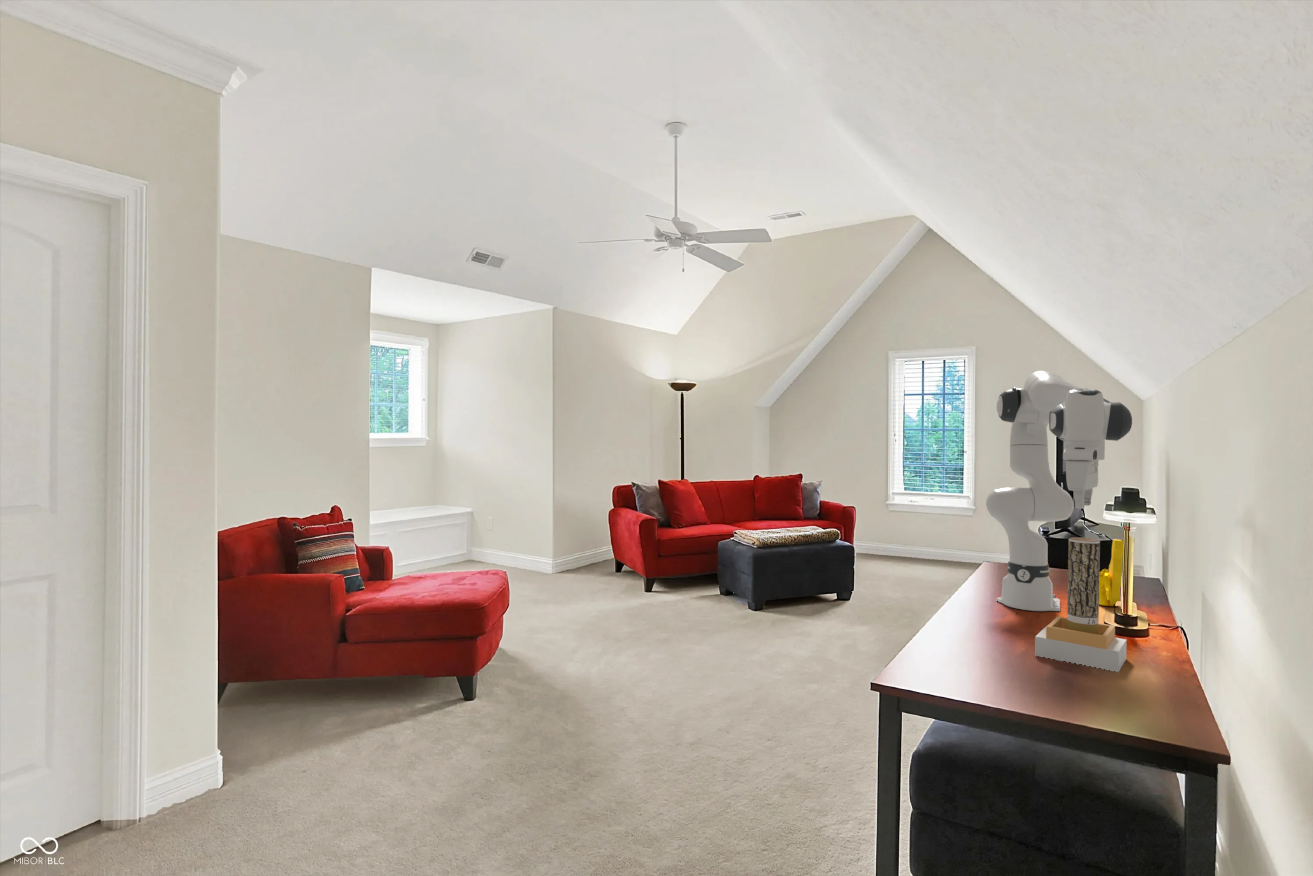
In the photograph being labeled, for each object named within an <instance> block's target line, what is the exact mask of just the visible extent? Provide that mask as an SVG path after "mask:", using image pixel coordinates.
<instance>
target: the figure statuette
mask: <svg viewBox="0 0 1313 876" xmlns="http://www.w3.org/2000/svg"><path fill="white" fill-rule="evenodd" d="M1123 544H1124V541H1123V540H1122V539H1115V538H1114V539H1113V540H1112V543H1111V558H1110V562H1109V565H1108V569H1106V568H1104V569H1102V570H1101V571H1099V606H1105V607H1113V605H1114V604H1115V603H1116V602H1117V601H1121V598H1120V587H1121V576H1122V577H1123V558H1124V557H1123V556H1124V549H1123Z"/></svg>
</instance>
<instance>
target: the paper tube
mask: <svg viewBox="0 0 1313 876" xmlns="http://www.w3.org/2000/svg"><path fill="white" fill-rule="evenodd" d="M1100 553H1101V541H1100V539H1097V538H1091V537H1078V536H1076V537H1075V536H1074V537H1068V556H1067V557H1068V558H1067V564H1068V565H1067V568H1068V569H1067V604H1066V605H1067V607H1066V608H1067V611H1066V613H1067V615H1066V618H1067V629H1069V630H1074V631H1080V632H1086V633H1092V634H1098V623H1100V622H1099V614H1100V612H1099V611H1100V604H1099V572H1100V564H1101V563H1100V560H1101V559H1100V556H1101V554H1100Z"/></svg>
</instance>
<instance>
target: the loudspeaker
mask: <svg viewBox="0 0 1313 876" xmlns="http://www.w3.org/2000/svg"><path fill="white" fill-rule="evenodd" d="M1034 637H1035V638H1034V657H1038V656H1039V657H1038V658H1043V657H1045V658H1044V659H1048V658H1050V659H1049V660H1053V659H1055V660H1054V661H1058V662H1063V661H1066V662H1065V663H1069V662H1071V663H1070V664H1074V663H1076V665H1079V664H1082V665H1081V666H1084V665H1086V666H1085V667H1089V666H1091V667H1090V668H1094V667H1096V668H1095V669H1099V668H1101V669H1100V670H1104V669H1105V670H1106V671H1109V670H1110V672H1114V671H1115V672H1114V673H1119V672H1120V670H1121V669H1122V667H1123V665H1124V664H1125V662H1126V661H1127V640H1128V639H1126V638H1125V639H1124V638H1119V637H1116V625H1112V624H1107V623H1106V624H1105V623H1101V622H1099V623H1098V634H1092V633H1086V632H1080V631H1074V630H1069V629H1067V617H1064V616H1063V617H1062V616H1056V617H1055V618H1054V619H1053V620H1052V621H1050V623H1049V624H1047V625H1046V626H1045V627H1043V628H1042V630H1040V632H1038V634H1036V635H1035V636H1034Z"/></svg>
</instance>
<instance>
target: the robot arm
mask: <svg viewBox="0 0 1313 876" xmlns="http://www.w3.org/2000/svg"><path fill="white" fill-rule="evenodd" d="M1023 386H1024V387H1022V388H1018V387H1017V386H1014V387H1012V388H1011V389H1007V390H1005V391H1003V392H1001V394H999V396H998V399H997V401H996V412H997V414H998V417H999V419H1001V421H1003V422H1006V423H1011V429H1010V436H1009V467H1010V469H1011V470H1012V472H1013V473H1014V474H1016V475H1018V476H1020V477H1022V478H1024V479H1026V480H1027V482H1028V484H1029V485H1028V486H1029V487H1011V486H1009V487H1008V486H1007V487H1001V488H996V489H995V488H994V489H993V490H991V491H990V492H989V494H988V495H987V498H986V503H985V504H986V505H985V506H986V508H987V509H986V510H987V511H988V513H989V514H990V516H991V517H992V518H993V519H995V520H996V521H997V522H999V523H1000V524H1001V526H1002V527H1003V529H1004V530H1005V532H1006V535H1007V539H1008V545H1009V547H1008V549H1009V561H1008V562H1007V574H1006V575H1005V576H1004V577H1003V578H1002V584H1001V585H1002V588H1001V596H999V597H996V599H995V601H996V602H997V601H998V603H1001V604H1003V605H1005V606H1007V607H1009V608H1013V609H1018V610H1019V609H1020V610H1023V611H1032V612H1048V611H1049V612H1061V599H1060V598H1057V597H1056V594H1053V592H1054V591H1053V589H1054V587H1053V586H1054V585H1053V582H1052V580H1051V579H1050V577H1049V576H1050V565H1049V563H1048V561H1049V560H1048V556H1049V555H1048V554H1049V553H1048V548H1049V547H1048V546H1049V544H1048V542H1047V540H1046V538H1045V537H1044V536H1042V535H1041V534H1039V533H1038V532H1035V531H1034V530H1031V529H1030V526H1029V522H1040V523H1041V522H1043V523H1045V522H1046V523H1047V522H1048V523H1049V522H1050V523H1053V522H1059V521H1065V520H1068V519H1069V518H1070V517H1071V515H1072V514H1073V512H1074V508H1075V509H1079V510H1081V509H1084V508H1085V506H1087V507H1088V506H1091V504H1092V496H1093V492H1094V491H1093V489H1095V488H1097V487H1098V486H1099V485H1098V484H1099V463H1100V461H1103V460H1105V457H1106V455H1105V449H1106V448H1105V443H1106V442H1105V441H1116V442H1117V441H1119V440H1121V439H1122V438H1124V437H1125V436H1126V435H1127V434H1128V433H1130V431H1131V429H1132V426H1133V416H1132V414H1131V413H1132V412H1131V411H1130V410H1129V409H1128V407H1126V405H1125V404H1123V403H1122V402H1120V401H1117V402H1111V401H1109V400H1108V399H1106V398H1104V396H1103V395H1104V394H1103V393H1102V391H1100V390H1098V389H1095V388H1094V389H1091V388H1081V387H1079V386H1077V385H1074V384H1073V383H1070V382H1068V381H1066V380H1065V379H1064V378H1062V377H1061V376H1060V375H1058V374H1056V373H1054V372H1051V371H1048V370H1038V371H1034V372H1033V373H1031V374H1029V375H1028V377H1027V378H1026V379H1025V381H1024V385H1023ZM1048 427H1049V431H1050V432H1051V433H1052V434H1053V435H1054V436H1055V437H1057V438H1060V439H1063V453H1062V460H1064V461H1065V476H1066V479H1065V480H1066V485H1067V487H1066V488H1067V489H1068V491H1072V492H1073V497H1072V495H1070V493H1069V492H1068V491H1067V490H1065V489H1064V488H1062V487H1061V486H1060V485H1059V484H1058V483H1057V482H1056V480H1055V478H1054V476H1052V475H1053V474H1052V473H1051V470H1050V464H1049V452H1048V451H1049V446H1048V443H1049V442H1048V433H1047V432H1048V431H1047V428H1048Z"/></svg>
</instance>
